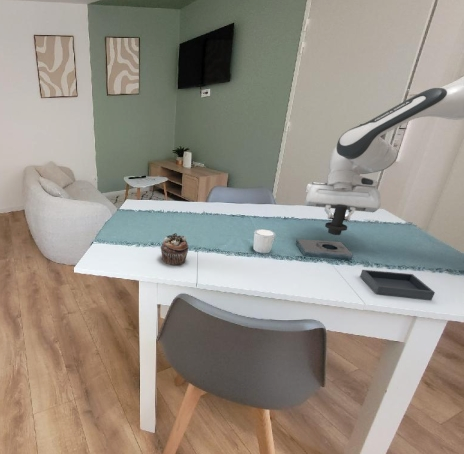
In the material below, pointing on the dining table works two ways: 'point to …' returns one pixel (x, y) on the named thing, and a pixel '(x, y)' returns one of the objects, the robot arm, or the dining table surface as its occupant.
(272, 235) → the white cylinder
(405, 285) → the dark grey tray
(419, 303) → the dining table surface
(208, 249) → the dining table surface
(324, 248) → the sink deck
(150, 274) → the dining table surface
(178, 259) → the cupcake
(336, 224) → the plug
